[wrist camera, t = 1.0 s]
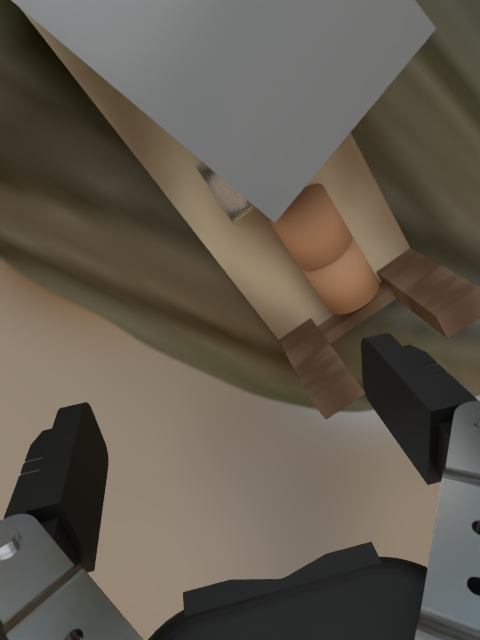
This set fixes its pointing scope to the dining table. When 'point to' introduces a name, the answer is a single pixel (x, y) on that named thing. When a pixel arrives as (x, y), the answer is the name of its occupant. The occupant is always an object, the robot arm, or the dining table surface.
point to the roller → (326, 251)
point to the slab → (246, 75)
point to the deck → (274, 258)
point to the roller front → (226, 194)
